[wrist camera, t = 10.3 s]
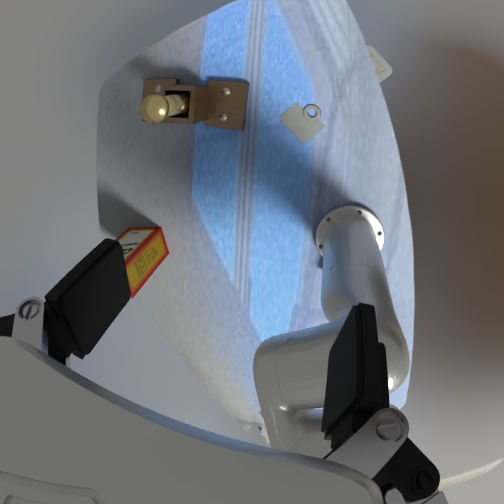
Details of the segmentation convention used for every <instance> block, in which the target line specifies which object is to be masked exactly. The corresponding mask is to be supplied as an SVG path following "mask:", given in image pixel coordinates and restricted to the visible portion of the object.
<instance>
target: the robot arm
mask: <svg viewBox="0 0 504 504" xmlns="http://www.w3.org/2000/svg"><path fill="white" fill-rule="evenodd" d="M358 210H360V212H358ZM328 218H330V219H328ZM379 231H380V232H379ZM383 243H384V231H383V227H382V225H381V223H380V221H379V219H378V218H377V217H376V215H375V214H373V213H372V212H371V211H369V210H368V209H366V208H363V207H360V206H355V205H345V206H341V207H337V208H335V209H333V210H331V211H330V212H328V213H327V214H326V215H325V216H324V217H323V218H322V219H321V221H320V222H319V224H318V227H317V230H316V246H317V249H318V251H319V253H320V254H321V256H322V257H323V271H322V287H321V306H322V309H323V312H324V314H325V316H326V318H327V319H328V321H329V322H330V323H326V324H322V325H319V326H316V327H312V328H307V329H303V330H298V331H294V332H289V333H285V334H280V335H277V336H273V337H270V338H268V339H266V340H265V341H263V342H262V343H261V344H260V345H259V347H258V348H257V350H256V352H255V356H254V361H253V374H254V382H255V387H256V392H257V396H258V400H259V403H260V407H261V411H262V415H263V418H264V422H265V426H266V429H267V433H268V437H269V440H270V444H271V447H272V448H269V447H265V446H260V445H256V444H252V443H248V442H244V441H240V440H237V439H233V438H229V437H226V436H222V435H219V434H216V433H213V432H209V431H206V430H203V429H200V428H197V427H194V426H191V425H188V424H186V423H183V422H180V421H178V420H175V419H172V418H170V417H167V416H164V415H162V414H159V413H157V412H155V411H152V410H150V409H148V408H145V407H143V406H141V405H138V404H136V403H134V402H132V401H130V400H127V399H125V398H123V397H121V396H119V395H117V394H115V393H113V392H111V391H109V390H107V389H105V388H103V387H102V386H100V385H98V384H96V383H94V382H92V381H90V380H89V379H87V378H85V377H83V376H81V375H80V374H78V373H76V372H75V371H73V370H71V368H70V355H71V353H73V354H74V355H75V356H77V357H79V358H80V359H83V358H84V356H85V355H87V354H89V353H90V352H91V351H92V349H93V348H94V347H95V345H96V344H97V342H98V341H99V340H100V338H101V337H102V336H103V334H104V333H105V331H106V330H107V329H108V327H109V326H110V325H111V323H112V322H113V321H114V319H115V318H116V317H117V316H118V314H119V313H120V312H121V310H122V309H123V308H124V306H125V305H126V304H127V302H128V301H129V299H130V297H131V291H130V286H129V281H128V275H127V270H126V264H125V259H124V253H123V247H122V246H121V245H120V243H119V241H116V240H112V239H109V238H106V239H104V240H103V241H102V242H101V243H100V244H99V245H98V246H97V247H96V248H94V249H93V250H92V251H91V252H90V253H89V254H88V255H87V256H85V257H84V258H83V259H82V260H81V261H80V262H79V263H78V264H77V265H76V266H75V267H74V268H73V269H72V270H71V271H69V272H68V273H67V274H66V275H65V276H64V277H63V278H62V279H61V280H60V281H59V282H58V283H57V284H56V286H54V287H53V288H52V289H51V290H50V291H49V292H48V293H47V294H46V295H45V299H46V301H45V302H43V301H42V300H41V299H40V298H37V297H30V298H27V299H25V300H23V301H22V302H21V303H20V304H19V306H18V307H17V309H16V312H15V314H12V315H8V316H4V317H0V504H448V502H447V500H446V498H445V496H444V493H443V491H440V492H439V490H438V486H439V482H440V474H439V471H438V469H437V468H436V466H435V465H434V464H433V463H432V462H431V461H430V460H429V459H428V458H427V457H426V456H425V455H424V454H423V453H422V452H421V451H420V450H419V449H418V448H417V446H416V445H415V444H414V443H413V442H412V441H411V440H410V439H409V438H408V437H407V436H408V432H409V423H408V421H407V418H406V417H405V416H404V414H403V413H402V412H400V410H399V409H398V408H397V407H396V406H394V405H391V404H389V394H390V393H391V392H393V391H395V390H396V389H397V388H398V387H400V386H401V385H402V383H403V382H404V381H405V379H406V377H407V375H408V372H409V365H410V359H409V351H408V347H407V343H406V340H405V337H404V334H403V332H402V329H401V327H400V324H399V322H398V319H397V316H396V313H395V310H394V306H393V302H392V298H391V294H390V290H389V285H388V281H387V276H386V272H385V268H384V264H383V260H382V256H381V252H380V251H381V249H382V247H383ZM320 244H322V245H320ZM322 407H324V409H323V411H321V412H318V411H316V410H315V409H314V408H322Z"/></svg>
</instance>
